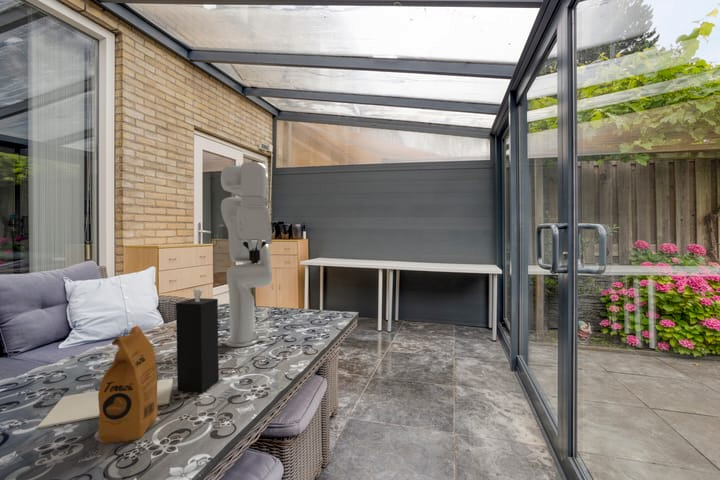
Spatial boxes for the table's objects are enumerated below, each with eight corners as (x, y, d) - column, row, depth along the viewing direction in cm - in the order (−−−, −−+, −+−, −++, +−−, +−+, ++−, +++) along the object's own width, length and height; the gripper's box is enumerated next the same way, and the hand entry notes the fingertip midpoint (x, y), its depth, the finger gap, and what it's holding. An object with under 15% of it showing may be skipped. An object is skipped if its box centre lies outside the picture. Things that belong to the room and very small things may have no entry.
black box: (201, 393, 94) (200, 292, 93) (177, 391, 95) (175, 291, 95) (219, 381, 101) (217, 287, 101) (195, 379, 103) (194, 287, 102)
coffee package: (88, 448, 70) (86, 341, 70) (120, 416, 82) (118, 325, 82) (141, 442, 72) (140, 338, 71) (164, 412, 84) (163, 323, 84)
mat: (173, 379, 103) (173, 378, 103) (168, 403, 88) (168, 401, 88) (63, 398, 91) (63, 396, 91) (37, 428, 77) (37, 426, 77)
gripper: (275, 205, 111) (276, 261, 111) (226, 203, 104) (227, 263, 105) (280, 203, 104) (281, 263, 104) (228, 201, 98) (229, 265, 98)
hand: (254, 263), depth 104 cm, fingers closed
